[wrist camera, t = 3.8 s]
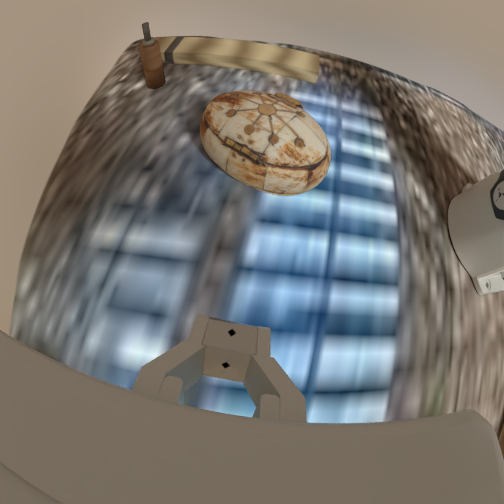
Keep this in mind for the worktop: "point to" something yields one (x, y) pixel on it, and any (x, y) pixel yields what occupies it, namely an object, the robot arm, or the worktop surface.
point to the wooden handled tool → (151, 59)
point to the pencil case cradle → (502, 440)
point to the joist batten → (240, 56)
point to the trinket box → (265, 141)
